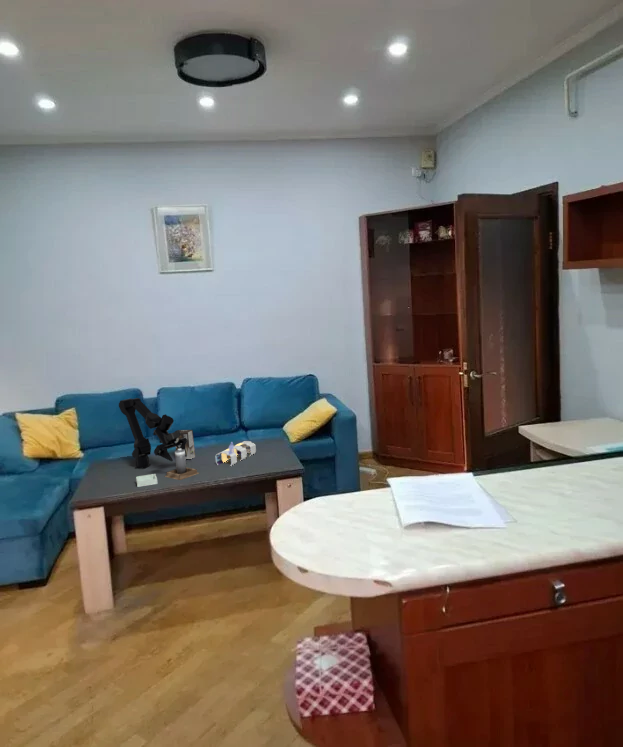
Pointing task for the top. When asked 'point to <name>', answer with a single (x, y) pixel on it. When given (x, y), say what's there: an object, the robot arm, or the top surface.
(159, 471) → the top surface
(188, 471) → the brown wooden tray
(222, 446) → the top surface
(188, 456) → the coffee box
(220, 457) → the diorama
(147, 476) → the white square tray
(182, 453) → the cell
